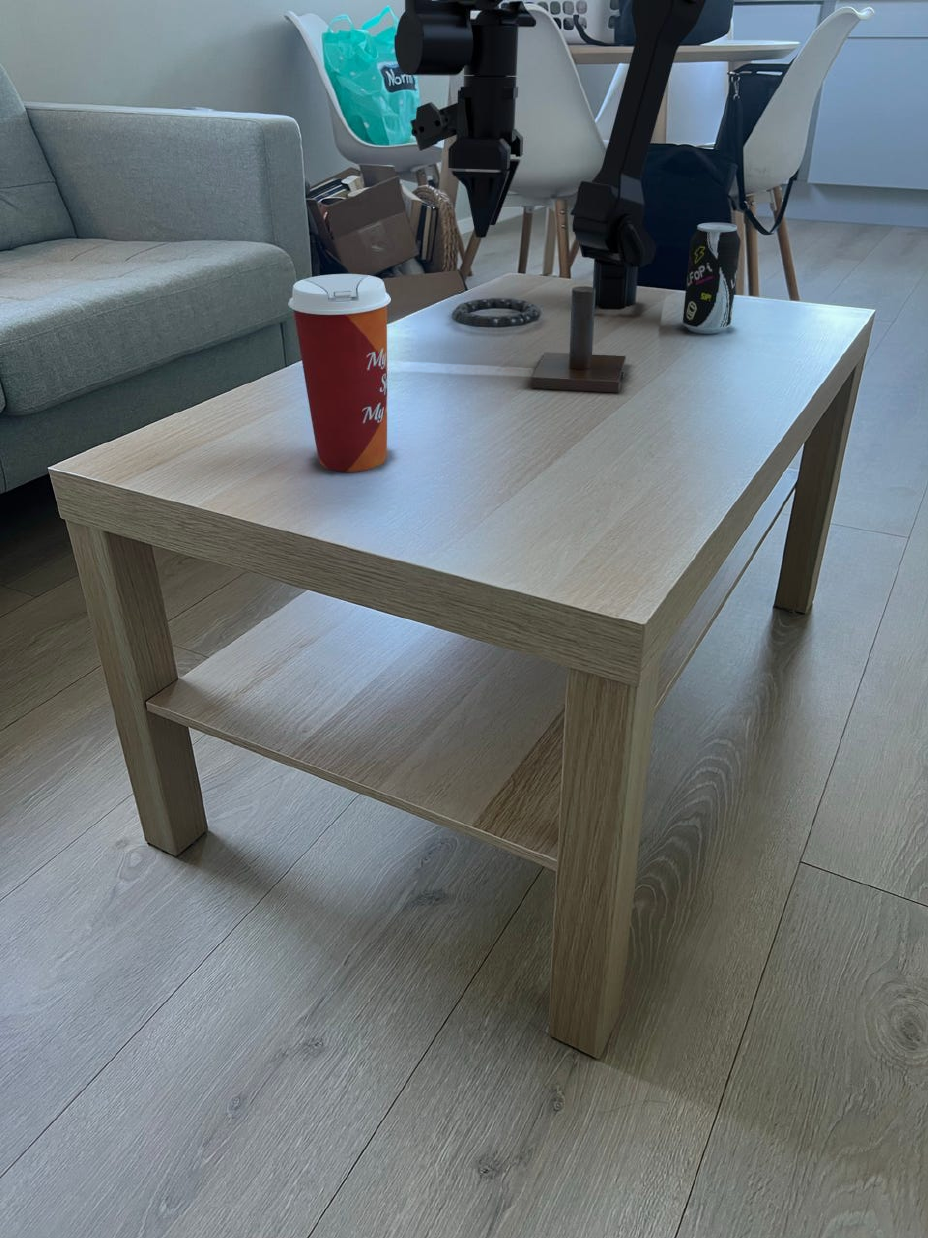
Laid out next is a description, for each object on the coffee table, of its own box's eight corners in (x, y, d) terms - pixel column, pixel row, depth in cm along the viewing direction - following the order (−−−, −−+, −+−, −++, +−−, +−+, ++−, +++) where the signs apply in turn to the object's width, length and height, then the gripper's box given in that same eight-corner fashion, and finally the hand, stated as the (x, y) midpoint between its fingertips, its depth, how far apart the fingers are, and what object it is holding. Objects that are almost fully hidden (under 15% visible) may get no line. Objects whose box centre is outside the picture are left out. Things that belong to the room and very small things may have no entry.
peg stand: (544, 362, 107) (546, 277, 103) (625, 366, 106) (631, 280, 101) (531, 388, 100) (533, 297, 95) (618, 392, 98) (624, 301, 93)
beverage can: (730, 336, 115) (743, 230, 108) (681, 334, 116) (692, 229, 110) (729, 324, 120) (741, 221, 113) (682, 322, 121) (692, 220, 114)
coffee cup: (406, 472, 82) (397, 291, 74) (309, 481, 80) (289, 298, 73) (392, 437, 89) (382, 268, 81) (302, 445, 87) (283, 274, 80)
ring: (463, 310, 128) (463, 295, 126) (545, 313, 125) (546, 297, 124) (444, 332, 118) (443, 316, 117) (532, 336, 116) (532, 320, 115)
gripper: (431, 73, 112) (431, 216, 120) (399, 75, 96) (401, 241, 104) (526, 75, 111) (520, 220, 119) (509, 78, 95) (503, 245, 103)
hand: (486, 230), depth 111 cm, fingers open, 9 cm apart
